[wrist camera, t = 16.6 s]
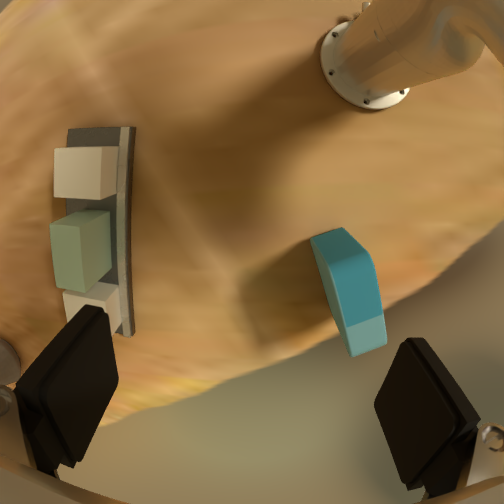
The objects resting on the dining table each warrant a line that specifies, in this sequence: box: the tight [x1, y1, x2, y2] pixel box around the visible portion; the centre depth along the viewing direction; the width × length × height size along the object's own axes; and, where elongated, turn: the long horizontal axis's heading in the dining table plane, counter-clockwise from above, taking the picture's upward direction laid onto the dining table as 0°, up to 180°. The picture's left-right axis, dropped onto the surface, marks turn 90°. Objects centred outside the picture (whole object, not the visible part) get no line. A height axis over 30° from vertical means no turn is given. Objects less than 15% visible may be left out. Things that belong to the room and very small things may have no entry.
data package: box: [310, 227, 387, 357], centre depth 35 cm, size 12×4×12 cm, turn 20°
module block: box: [49, 209, 112, 293], centre depth 34 cm, size 8×4×8 cm, turn 174°
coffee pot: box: [0, 339, 21, 390], centre depth 40 cm, size 21×12×15 cm, turn 106°
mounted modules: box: [54, 146, 122, 336], centre depth 36 cm, size 25×7×5 cm, turn 173°
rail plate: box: [66, 127, 136, 338], centre depth 38 cm, size 30×10×2 cm, turn 173°
